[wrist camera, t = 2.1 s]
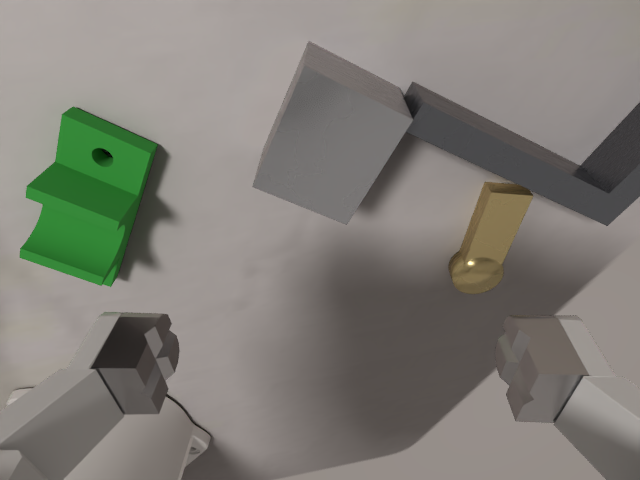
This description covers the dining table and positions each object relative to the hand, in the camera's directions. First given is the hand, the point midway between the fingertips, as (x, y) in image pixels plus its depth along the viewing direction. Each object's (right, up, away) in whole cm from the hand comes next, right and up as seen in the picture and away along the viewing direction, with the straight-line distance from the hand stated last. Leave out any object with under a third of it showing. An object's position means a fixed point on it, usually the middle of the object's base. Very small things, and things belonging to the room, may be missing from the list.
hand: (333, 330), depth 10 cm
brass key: (+10, +3, +16) cm, 19 cm away
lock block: (0, +9, +12) cm, 15 cm away
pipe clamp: (-18, +3, +13) cm, 22 cm away
